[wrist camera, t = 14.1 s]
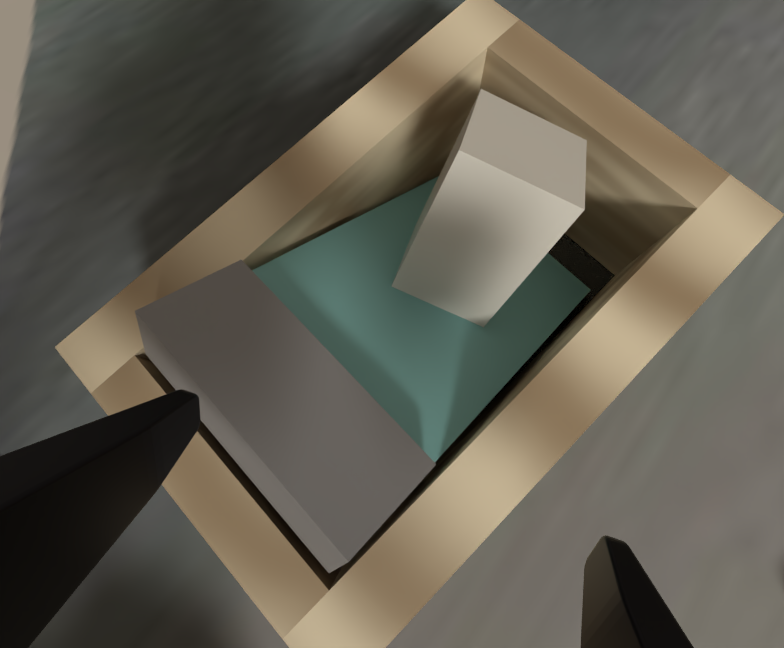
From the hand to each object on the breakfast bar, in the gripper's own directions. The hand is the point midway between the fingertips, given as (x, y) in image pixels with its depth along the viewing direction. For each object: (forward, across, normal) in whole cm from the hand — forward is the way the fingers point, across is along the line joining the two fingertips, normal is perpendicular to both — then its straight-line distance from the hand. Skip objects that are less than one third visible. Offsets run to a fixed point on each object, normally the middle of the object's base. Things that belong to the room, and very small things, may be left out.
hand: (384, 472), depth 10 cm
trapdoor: (+11, +2, +3) cm, 12 cm away
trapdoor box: (+14, +2, +5) cm, 15 cm away
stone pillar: (+13, +1, +1) cm, 13 cm away
